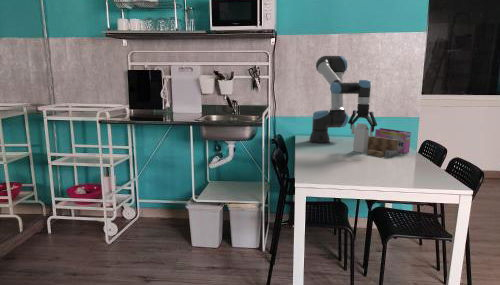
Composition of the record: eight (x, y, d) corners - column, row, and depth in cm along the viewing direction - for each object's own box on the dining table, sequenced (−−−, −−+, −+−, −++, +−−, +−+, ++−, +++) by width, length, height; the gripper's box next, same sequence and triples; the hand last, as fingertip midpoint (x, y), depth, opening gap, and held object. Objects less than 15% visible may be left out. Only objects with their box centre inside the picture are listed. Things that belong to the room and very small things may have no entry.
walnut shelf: (354, 151, 263) (355, 137, 261) (363, 149, 271) (364, 135, 269) (387, 158, 246) (389, 142, 244) (397, 155, 254) (398, 140, 253)
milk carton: (357, 149, 269) (359, 122, 266) (367, 151, 265) (369, 123, 261) (353, 151, 264) (354, 123, 260) (363, 153, 259) (365, 124, 256)
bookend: (384, 157, 248) (385, 151, 248) (392, 154, 256) (393, 148, 255) (388, 157, 247) (389, 151, 246) (396, 155, 254) (396, 149, 253)
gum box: (372, 147, 278) (373, 128, 276) (378, 146, 283) (379, 127, 281) (403, 153, 260) (405, 133, 258) (409, 151, 265) (411, 132, 263)
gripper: (343, 102, 264) (342, 133, 268) (378, 105, 247) (376, 138, 251) (349, 102, 270) (348, 132, 273) (383, 104, 252) (381, 137, 256)
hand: (361, 135), depth 262 cm, fingers open, 13 cm apart
